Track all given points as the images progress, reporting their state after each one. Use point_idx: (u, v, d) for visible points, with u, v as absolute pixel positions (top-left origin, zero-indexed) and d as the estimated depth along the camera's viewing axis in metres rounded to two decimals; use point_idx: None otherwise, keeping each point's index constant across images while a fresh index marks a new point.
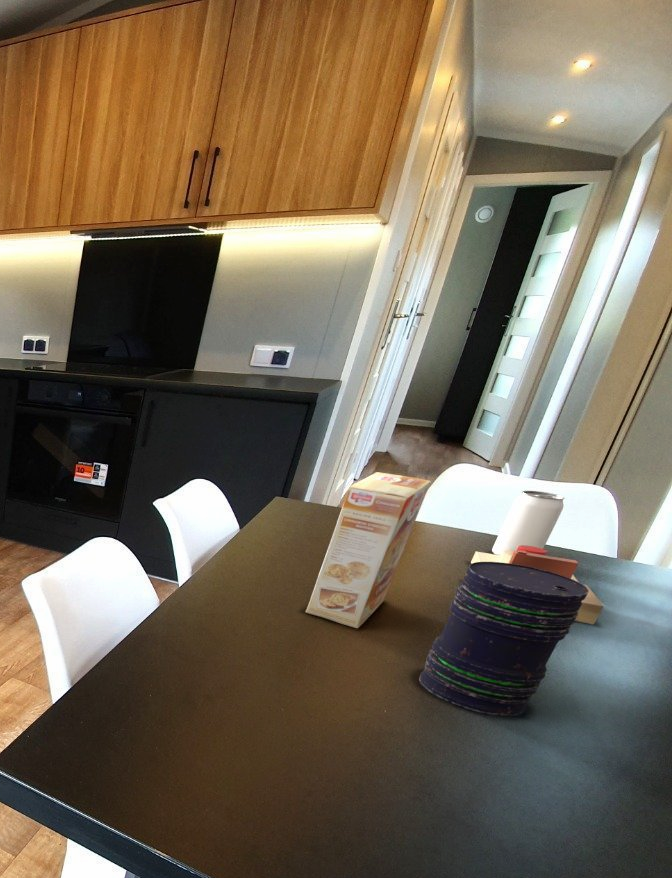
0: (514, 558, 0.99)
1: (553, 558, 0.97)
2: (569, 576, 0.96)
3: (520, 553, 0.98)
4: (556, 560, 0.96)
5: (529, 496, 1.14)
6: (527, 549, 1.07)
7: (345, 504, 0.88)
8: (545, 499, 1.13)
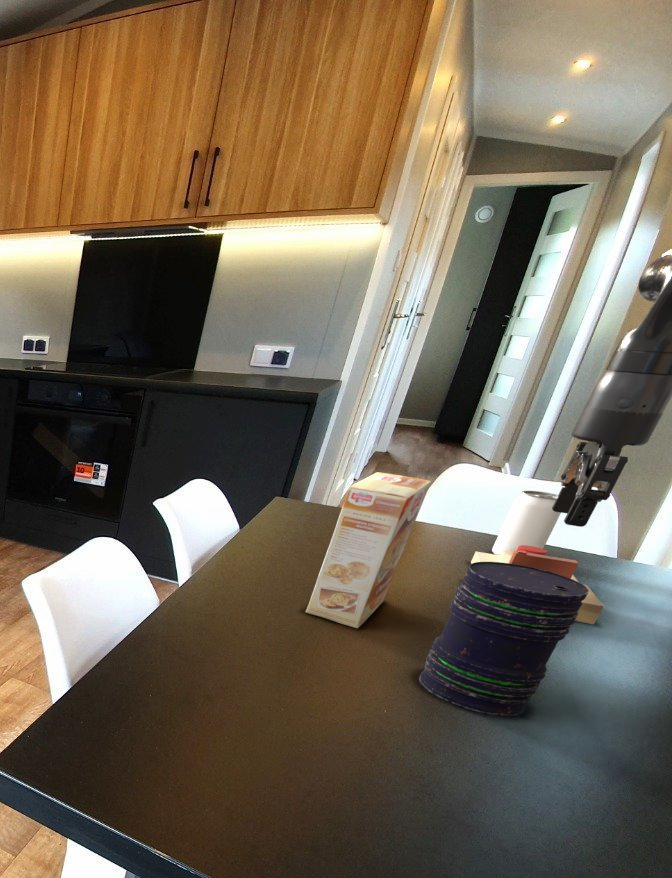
0: (514, 558, 0.99)
1: (553, 558, 0.97)
2: (569, 576, 0.96)
3: (520, 553, 0.98)
4: (556, 560, 0.96)
5: (529, 496, 1.14)
6: (527, 549, 1.07)
7: (346, 504, 0.88)
8: (545, 499, 1.13)
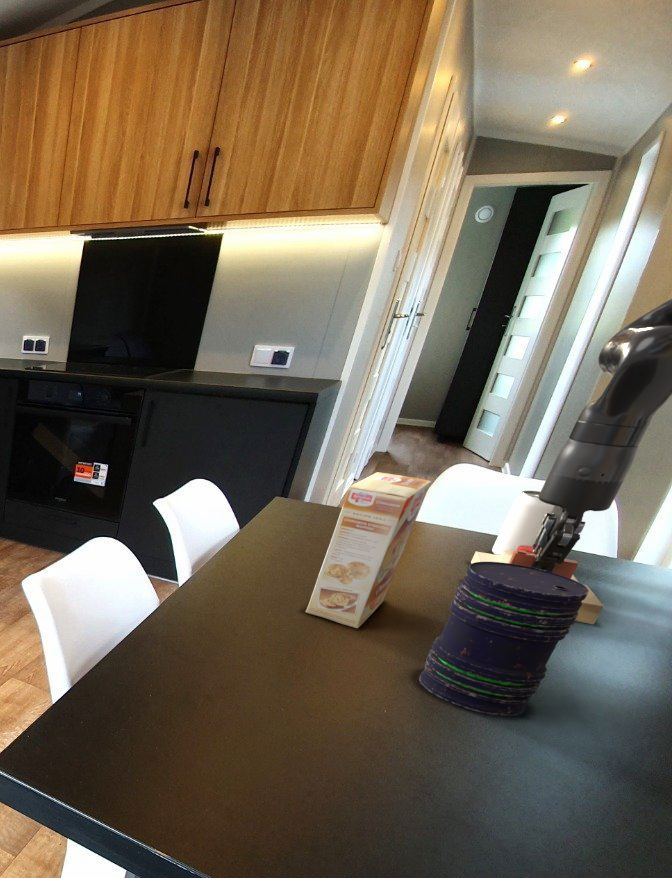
0: (514, 558, 0.99)
1: None
2: (569, 576, 0.96)
3: (520, 553, 0.99)
4: None
5: (529, 496, 1.14)
6: (527, 549, 1.07)
7: (346, 504, 0.88)
8: None
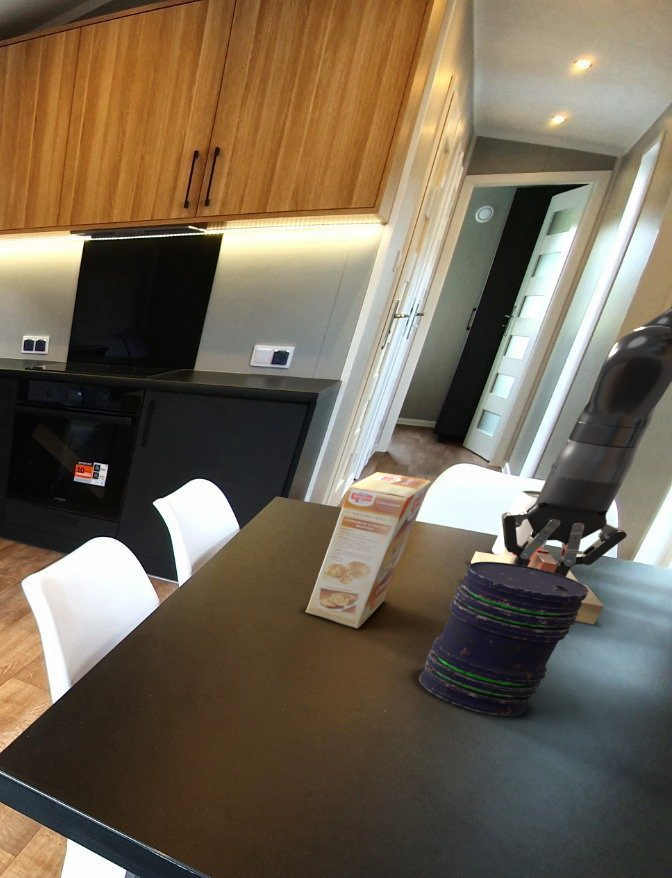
0: None
1: (546, 558, 0.97)
2: None
3: (536, 550, 1.00)
4: (540, 558, 0.97)
5: (529, 496, 1.14)
6: None
7: (346, 504, 0.88)
8: None
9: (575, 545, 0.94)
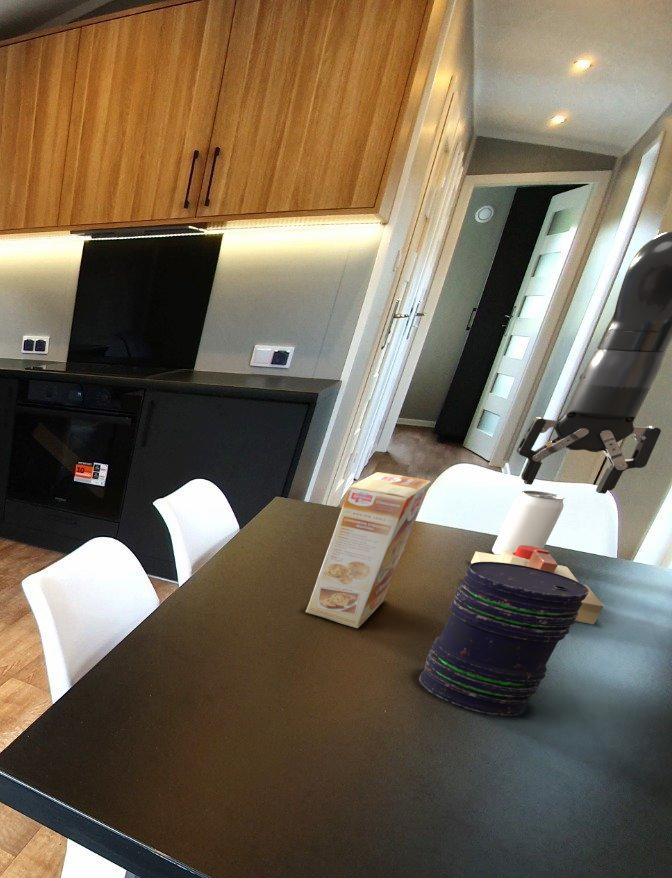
0: (532, 554, 1.01)
1: (546, 558, 0.97)
2: None
3: (536, 550, 1.00)
4: (540, 558, 0.97)
5: (529, 496, 1.14)
6: (527, 549, 1.07)
7: (346, 504, 0.88)
8: (545, 499, 1.13)
9: (615, 450, 0.96)
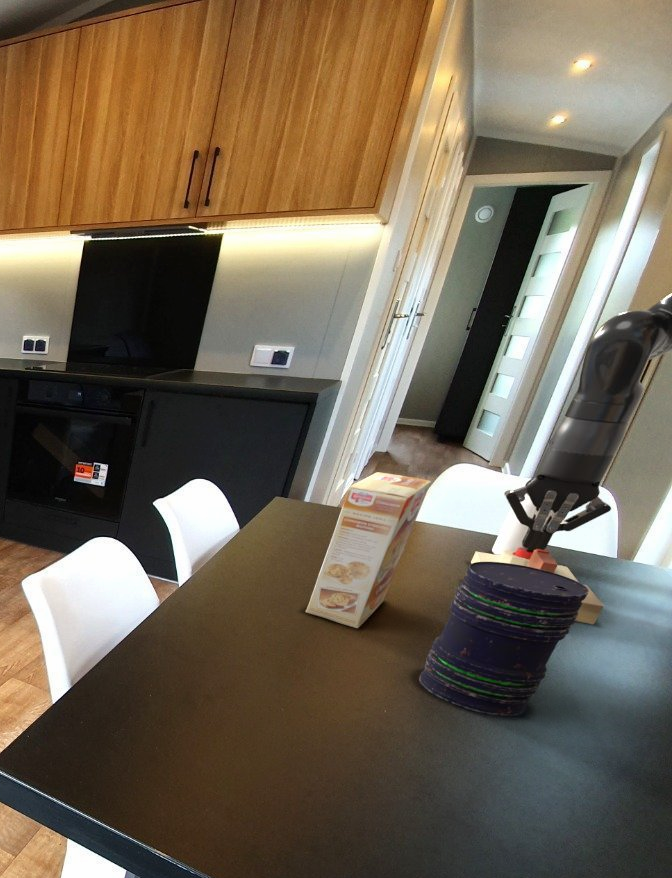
0: (532, 554, 1.01)
1: (546, 558, 0.97)
2: None
3: (536, 550, 1.00)
4: (540, 558, 0.97)
5: None
6: (526, 551, 1.07)
7: (346, 504, 0.88)
8: None
9: (563, 514, 1.03)
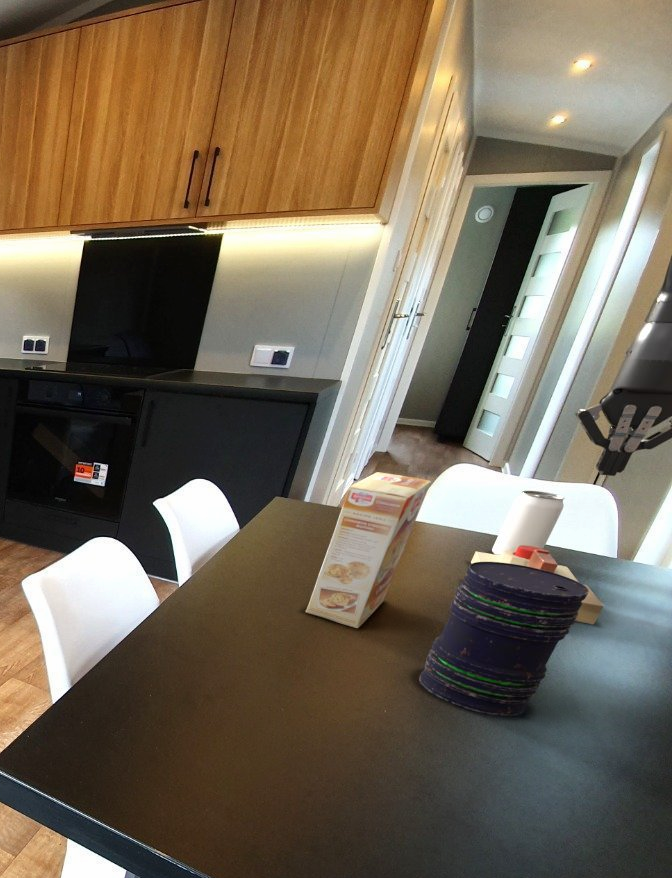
0: (532, 554, 1.01)
1: (546, 558, 0.97)
2: None
3: (536, 550, 1.00)
4: (540, 558, 0.97)
5: (529, 496, 1.14)
6: (527, 549, 1.07)
7: (346, 504, 0.88)
8: (545, 499, 1.13)
9: (644, 430, 0.94)
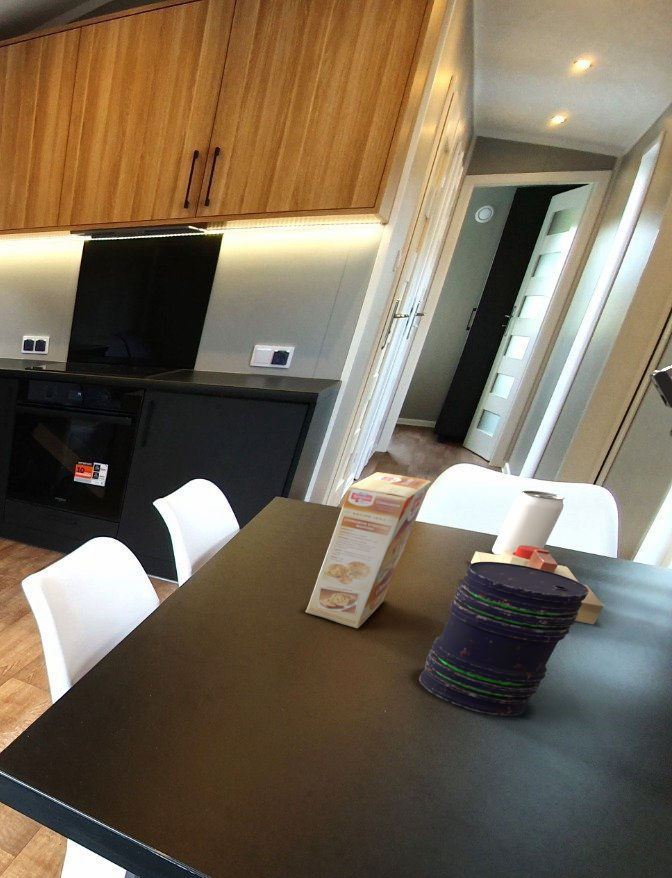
0: (532, 554, 1.01)
1: (546, 558, 0.97)
2: None
3: (536, 550, 1.00)
4: (540, 558, 0.97)
5: (529, 496, 1.14)
6: (527, 549, 1.07)
7: (345, 504, 0.88)
8: (545, 499, 1.13)
9: None
